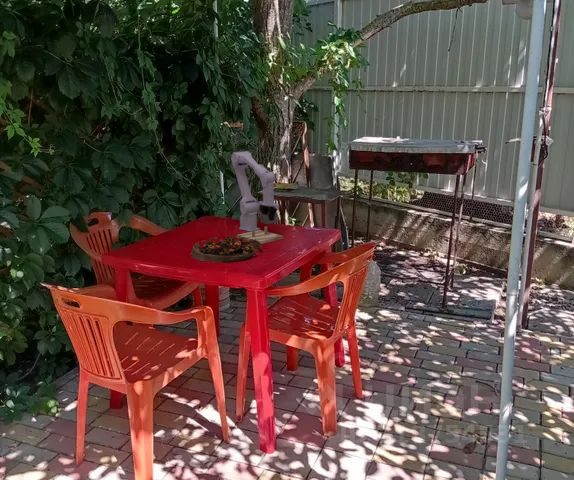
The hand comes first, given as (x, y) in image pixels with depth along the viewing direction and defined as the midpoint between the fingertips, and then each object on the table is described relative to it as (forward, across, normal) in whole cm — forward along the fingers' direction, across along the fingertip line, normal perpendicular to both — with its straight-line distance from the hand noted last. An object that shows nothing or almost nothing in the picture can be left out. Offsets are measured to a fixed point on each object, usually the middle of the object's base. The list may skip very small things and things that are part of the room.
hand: (269, 219), depth 318 cm
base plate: (+8, +2, -8) cm, 12 cm away
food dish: (+9, +11, -38) cm, 41 cm away
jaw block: (+2, 0, 0) cm, 2 cm away
